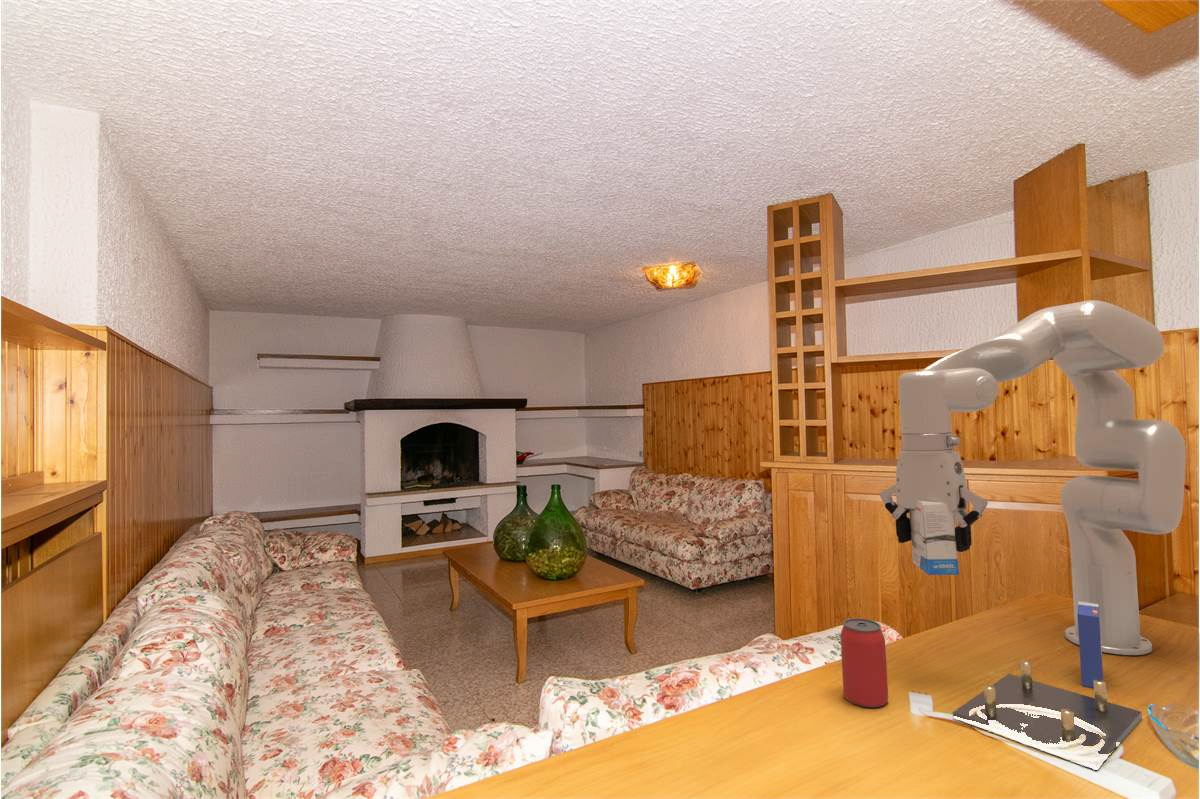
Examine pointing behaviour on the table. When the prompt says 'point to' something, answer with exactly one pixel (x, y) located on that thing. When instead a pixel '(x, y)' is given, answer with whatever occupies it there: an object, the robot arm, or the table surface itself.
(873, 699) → the beer can
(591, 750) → the table surface
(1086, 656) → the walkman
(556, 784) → the table surface
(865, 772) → the table surface
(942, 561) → the ink box
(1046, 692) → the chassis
